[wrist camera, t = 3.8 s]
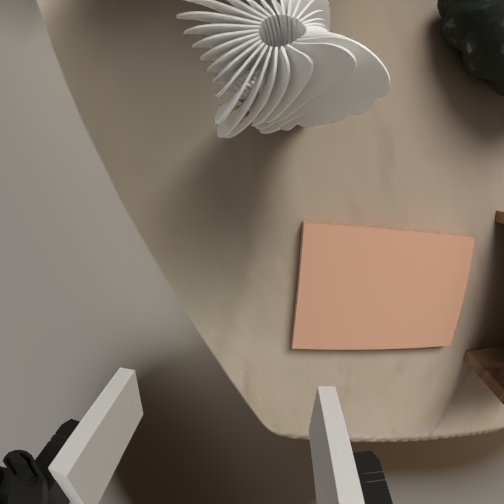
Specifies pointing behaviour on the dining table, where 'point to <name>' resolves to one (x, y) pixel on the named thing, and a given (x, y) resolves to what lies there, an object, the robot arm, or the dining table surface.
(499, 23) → the squash
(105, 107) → the dining table surface
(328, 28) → the shell sculpture
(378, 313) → the tile
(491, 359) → the shelf
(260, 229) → the dining table surface
